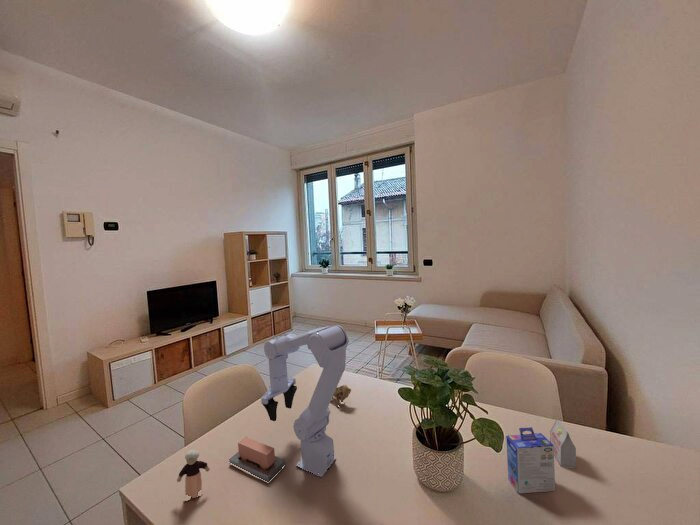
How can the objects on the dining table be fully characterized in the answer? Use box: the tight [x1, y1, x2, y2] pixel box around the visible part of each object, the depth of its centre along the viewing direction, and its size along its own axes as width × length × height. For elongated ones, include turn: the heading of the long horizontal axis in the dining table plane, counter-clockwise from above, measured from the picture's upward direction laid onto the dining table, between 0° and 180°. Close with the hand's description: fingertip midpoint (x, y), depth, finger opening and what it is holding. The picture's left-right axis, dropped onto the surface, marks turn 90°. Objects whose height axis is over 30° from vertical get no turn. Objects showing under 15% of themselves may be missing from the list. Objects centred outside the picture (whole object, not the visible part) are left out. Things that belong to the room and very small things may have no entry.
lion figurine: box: [333, 384, 352, 405], centre depth 118 cm, size 15×5×9 cm, turn 48°
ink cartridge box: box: [505, 426, 556, 494], centre depth 74 cm, size 10×6×14 cm, turn 92°
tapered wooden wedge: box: [237, 436, 276, 471], centre depth 86 cm, size 12×3×6 cm, turn 62°
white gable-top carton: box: [549, 418, 577, 469], centre depth 83 cm, size 4×7×10 cm, turn 166°
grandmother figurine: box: [176, 448, 211, 499], centre depth 76 cm, size 8×4×13 cm, turn 126°
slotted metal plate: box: [228, 451, 286, 482], centre depth 86 cm, size 16×7×2 cm, turn 62°
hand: (281, 413), depth 95 cm, fingers open, 7 cm apart
